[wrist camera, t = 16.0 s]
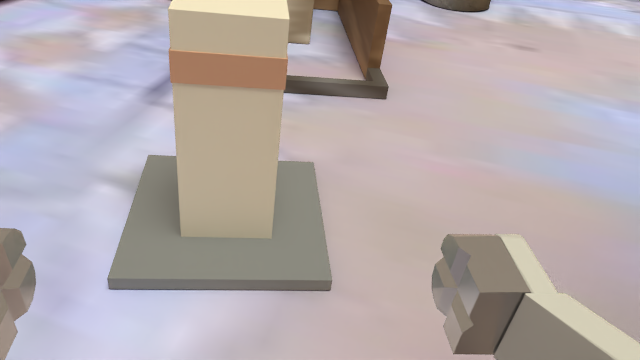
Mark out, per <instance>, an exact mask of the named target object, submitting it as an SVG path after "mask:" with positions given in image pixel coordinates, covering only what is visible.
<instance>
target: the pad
mask: <svg viewBox="0 0 640 360" xmlns="http://www.w3.org/2000/svg"><path fill="white" fill-rule="evenodd" d="M108 284H109V289H218V290H330V289H331V284H332V276H331V270H330V264H329V257H328V251H327V245H326V239H325V232H324V226H323V220H322V213H321V207H320V201H319V194H318V188H317V182H316V175H315V169H314V163H313V162H295V161H278V166H277V178H276V190H275V202H274V215H273V227H272V239H270V238H222V237H181V228H180V211H179V193H178V175H177V157H176V156H159V155H148V158H147V161H146V164H145V167H144V170H143V173H142V176H141V179H140V182H139V185H138V188H137V191H136V194H135V197H134V200H133V203H132V206H131V209H130V212H129V215H128V218H127V221H126V224H125V227H124V230H123V233H122V236H121V239H120V242H119V245H118V248H117V251H116V254H115V257H114V260H113V263H112V266H111V269H110V272H109V275H108Z"/></svg>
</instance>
